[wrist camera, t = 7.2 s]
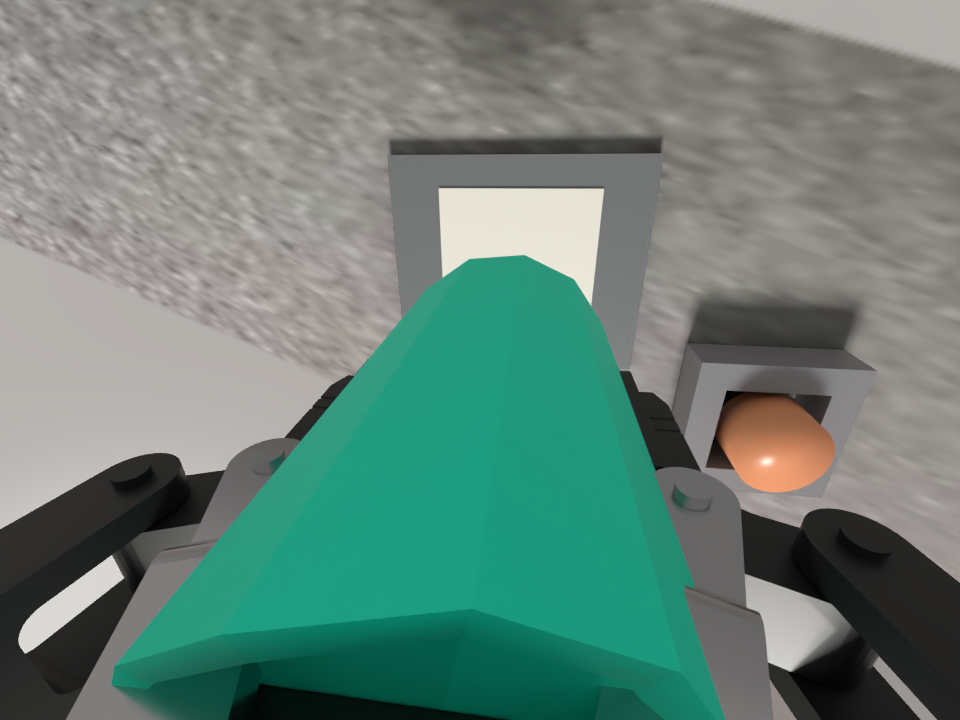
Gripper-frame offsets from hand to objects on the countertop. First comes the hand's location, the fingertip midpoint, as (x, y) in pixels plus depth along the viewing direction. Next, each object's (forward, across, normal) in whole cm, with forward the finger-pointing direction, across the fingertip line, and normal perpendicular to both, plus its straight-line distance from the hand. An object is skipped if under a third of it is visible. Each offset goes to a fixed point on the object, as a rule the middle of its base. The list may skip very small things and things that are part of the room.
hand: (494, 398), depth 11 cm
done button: (+12, -13, +8) cm, 20 cm away
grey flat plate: (+14, 0, 0) cm, 14 cm away
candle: (+3, 0, 0) cm, 3 cm away
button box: (+14, -13, +8) cm, 21 cm away
